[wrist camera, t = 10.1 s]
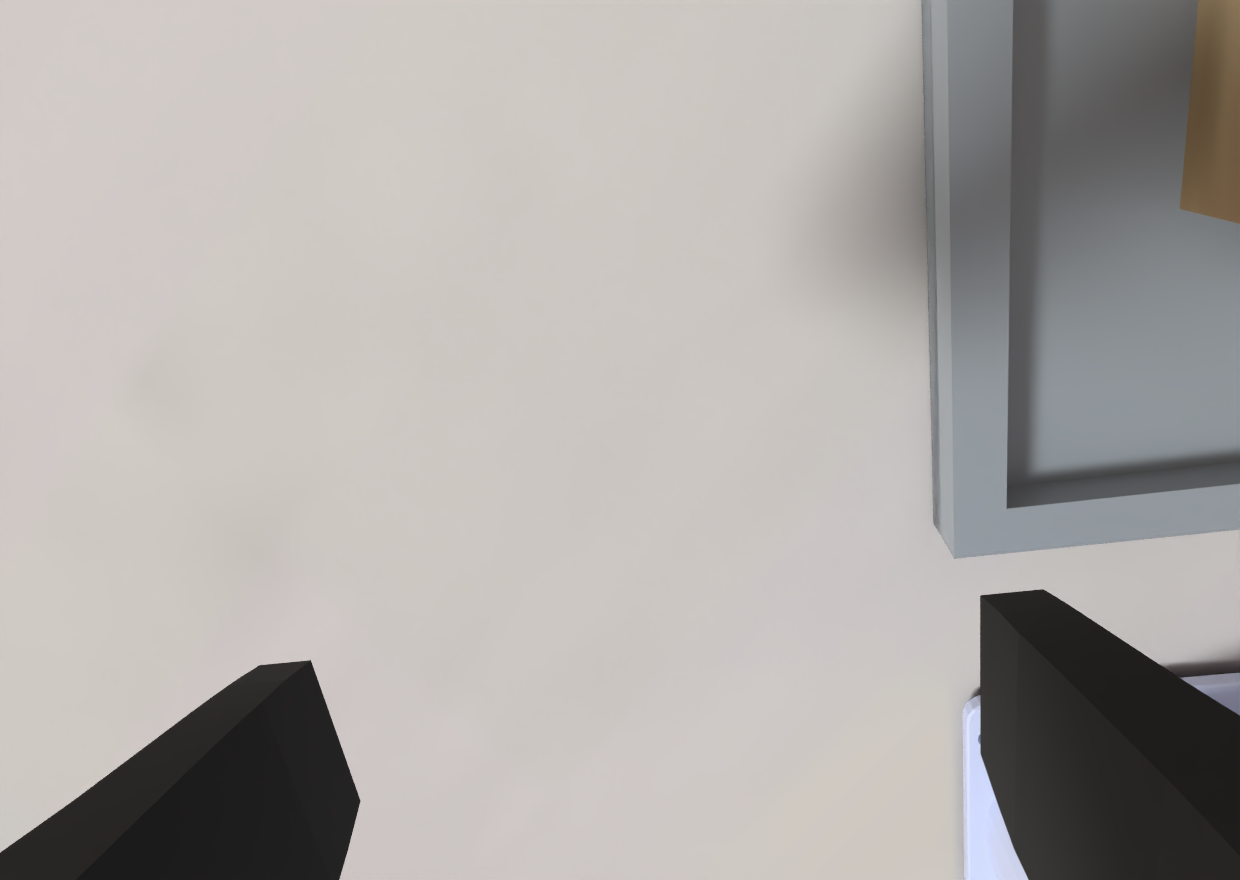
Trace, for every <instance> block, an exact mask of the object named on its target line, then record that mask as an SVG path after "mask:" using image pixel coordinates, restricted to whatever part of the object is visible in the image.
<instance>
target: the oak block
mask: <svg viewBox="0 0 1240 880" xmlns="http://www.w3.org/2000/svg"><path fill="white" fill-rule="evenodd" d="M1180 209H1182V210H1186V211H1190V212H1194V213H1198V214H1202V215H1206V216H1210V217H1214V218H1218V219H1222V220H1226V221H1230V222H1234V223H1238V224H1240V0H1198V9H1197V20H1196V31H1195V43H1194V54H1193V65H1192V76H1191V88H1190V99H1189V110H1188V122H1187V133H1186V144H1185V156H1184V167H1183V178H1182V190H1181V201H1180Z"/></svg>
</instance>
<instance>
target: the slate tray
mask: <svg viewBox="0 0 1240 880" xmlns="http://www.w3.org/2000/svg"><path fill="white" fill-rule="evenodd" d="M1197 9H1198V0H922V39H923V83H924V127H925V171H926V214H927V258H928V302H929V346H930V389H931V433H932V477H933V521H934V525H935V527H936V528H937V530H938V532H939V533H940V535H941V537H942V539H943V540H944V542H945V544H946V545H947V547H948V549H949V550H950V552H951V554H952V556H953V557H954V559H955V558H965V557H975V556H984V555H994V554H1004V553H1014V552H1024V551H1033V550H1043V549H1053V548H1063V547H1073V546H1082V545H1092V544H1102V543H1112V542H1122V541H1131V540H1141V539H1151V538H1161V537H1171V536H1180V535H1190V534H1200V533H1210V532H1220V531H1229V530H1239V529H1240V224H1238V223H1234V222H1230V221H1226V220H1222V219H1218V218H1214V217H1210V216H1206V215H1202V214H1198V213H1194V212H1190V211H1186V210H1182V209H1180V201H1181V190H1182V178H1183V167H1184V156H1185V144H1186V133H1187V122H1188V110H1189V99H1190V88H1191V76H1192V65H1193V54H1194V43H1195V31H1196V20H1197Z"/></svg>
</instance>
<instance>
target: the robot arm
mask: <svg viewBox="0 0 1240 880" xmlns="http://www.w3.org/2000/svg"><path fill="white" fill-rule="evenodd" d="M963 803H964V880H1240V673H1229V674H1217V675H1206V676H1194V677H1182V678H1179V677H1178V676H1176V675H1175V674H1173V673H1172V672H1170V671H1169V670H1167V669H1165V668H1164V667H1162V666H1161V665H1159V664H1158V663H1156V662H1155V661H1153V660H1152V659H1150V658H1148V657H1147V656H1145V655H1144V654H1142V653H1141V652H1139V651H1138V650H1136V649H1135V648H1133V647H1132V646H1130V645H1129V644H1127V643H1126V642H1124V641H1123V640H1121V639H1120V638H1118V637H1116V636H1115V635H1113V634H1112V633H1110V632H1109V631H1107V630H1106V629H1104V628H1103V627H1101V626H1100V625H1098V624H1097V623H1095V622H1094V621H1092V620H1091V619H1089V618H1088V617H1086V616H1085V615H1083V614H1082V613H1080V612H1079V611H1077V610H1075V609H1074V608H1072V607H1071V606H1069V605H1068V604H1066V603H1065V602H1063V601H1061V600H1060V599H1058V598H1057V597H1055V596H1053V595H1052V594H1050V593H1048V592H1047V591H1045V590H1032V591H1022V592H1012V593H1001V594H991V595H981V596H980V695H979V696H976V697H974V698H972V699H971V700H969V701H968V702H967V704H966V705H965V706H964V710H963ZM359 804H360V799H359V796H358V793H357V790H356V787H355V784H354V782H353V779H352V776H351V773H350V770H349V767H348V765H347V762H346V759H345V756H344V753H343V750H342V748H341V745H340V742H339V739H338V736H337V733H336V731H335V728H334V725H333V722H332V719H331V716H330V714H329V711H328V708H327V705H326V702H325V699H324V697H323V694H322V691H321V688H320V685H319V682H318V680H317V677H316V674H315V671H314V668H313V665H312V663H311V660H310V661H300V662H290V663H279V664H269V665H260V666H258V667H256V668H255V669H253V670H252V671H250V672H248V673H247V674H245V675H244V676H242V677H240V678H239V679H237V680H236V681H234V682H233V683H232V684H230V685H229V686H227V687H226V688H224V689H223V690H222V691H220V692H219V693H217V694H216V695H214V696H213V697H212V698H210V699H209V700H208V701H206V702H205V703H203V704H202V705H201V706H199V707H198V708H197V709H195V710H194V711H193V712H191V713H190V714H189V715H187V716H186V717H185V718H183V719H182V720H181V721H179V722H178V723H176V724H175V725H174V726H173V727H171V728H170V729H169V730H167V731H166V732H165V733H163V734H162V735H161V736H159V737H158V738H157V739H155V740H154V741H153V742H151V743H150V744H149V745H147V746H146V747H145V748H143V749H142V750H141V751H139V752H138V753H137V754H135V755H134V756H133V757H131V758H130V759H129V760H127V761H126V762H125V763H123V764H122V765H121V766H119V767H118V768H117V769H115V770H114V771H113V772H111V773H110V774H109V775H107V776H106V777H105V778H103V779H102V780H101V781H99V782H98V783H97V784H95V785H94V786H93V787H91V788H90V789H89V790H87V791H86V792H85V793H83V794H82V795H81V796H79V797H78V798H76V799H75V800H74V801H72V802H71V803H70V804H68V805H67V806H65V807H64V808H63V809H61V810H60V811H58V812H57V813H56V814H54V815H53V816H51V817H50V818H48V819H47V820H46V821H44V822H43V823H41V824H40V825H39V826H37V827H36V828H34V829H33V830H32V831H30V832H29V833H27V834H26V835H25V836H23V837H22V838H20V839H19V840H17V841H16V842H15V843H13V844H12V845H10V846H9V847H8V848H6V849H5V850H3V851H2V852H1V853H0V880H339V878H340V875H341V872H342V868H343V865H344V861H345V858H346V854H347V851H348V847H349V843H350V839H351V835H352V832H353V828H354V824H355V820H356V816H357V812H358V808H359Z"/></svg>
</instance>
